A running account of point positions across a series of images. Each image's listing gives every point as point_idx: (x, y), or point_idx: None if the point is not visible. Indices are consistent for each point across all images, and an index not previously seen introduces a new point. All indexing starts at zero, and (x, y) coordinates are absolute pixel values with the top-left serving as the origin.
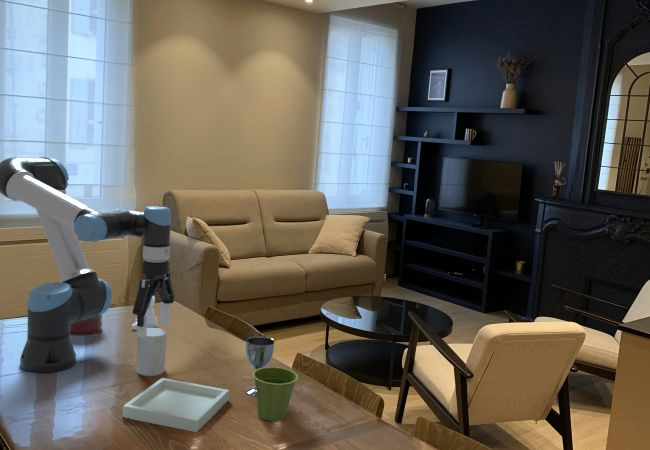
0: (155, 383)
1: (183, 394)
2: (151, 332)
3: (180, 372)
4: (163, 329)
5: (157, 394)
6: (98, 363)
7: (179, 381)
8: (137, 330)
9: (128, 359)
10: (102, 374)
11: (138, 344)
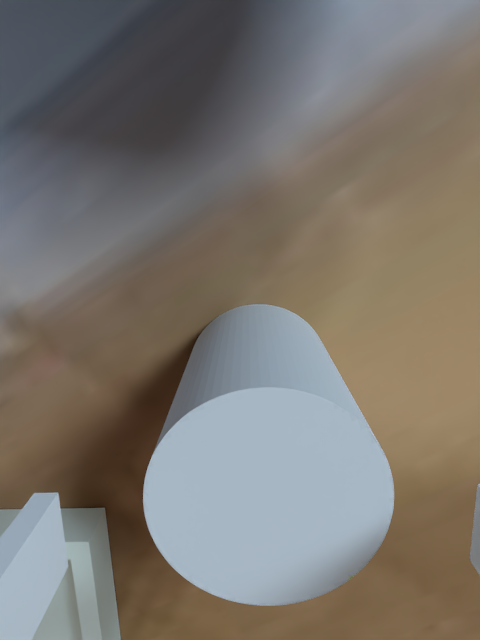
0: None
1: (60, 627)
2: (250, 504)
3: None
4: (375, 546)
5: None
6: (219, 61)
7: (93, 617)
8: (3, 540)
9: (351, 183)
10: (95, 187)
11: (182, 390)
